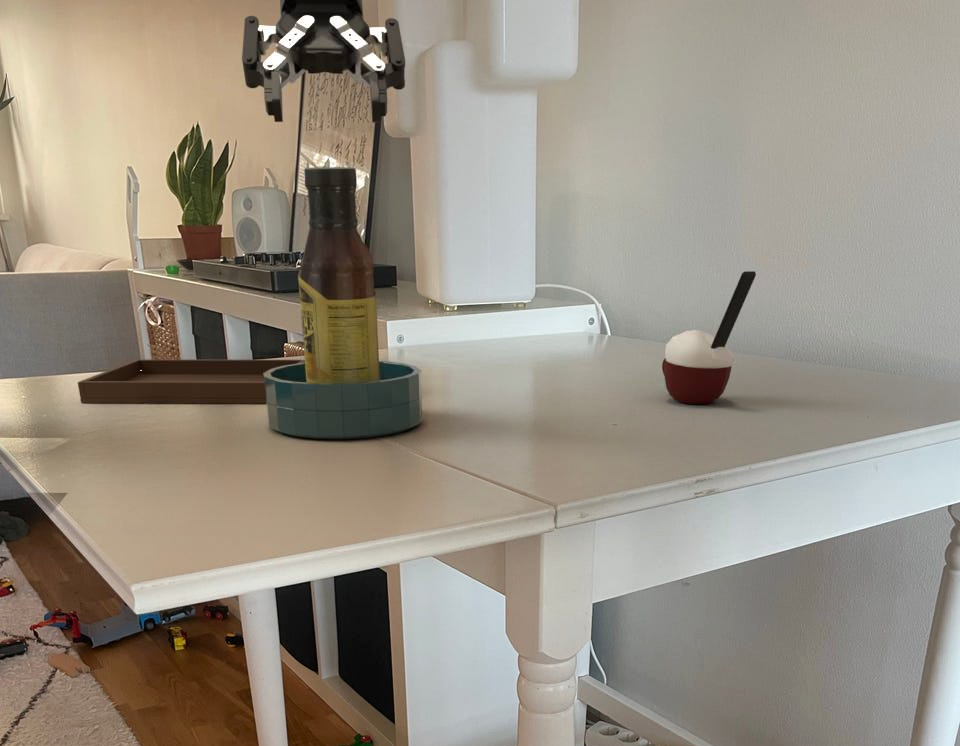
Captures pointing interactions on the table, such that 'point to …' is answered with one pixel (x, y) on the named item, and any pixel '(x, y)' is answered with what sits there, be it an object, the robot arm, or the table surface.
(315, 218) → the sauce bottle
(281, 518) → the table surface
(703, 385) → the ice cream cup
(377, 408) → the bowl
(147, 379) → the tray
